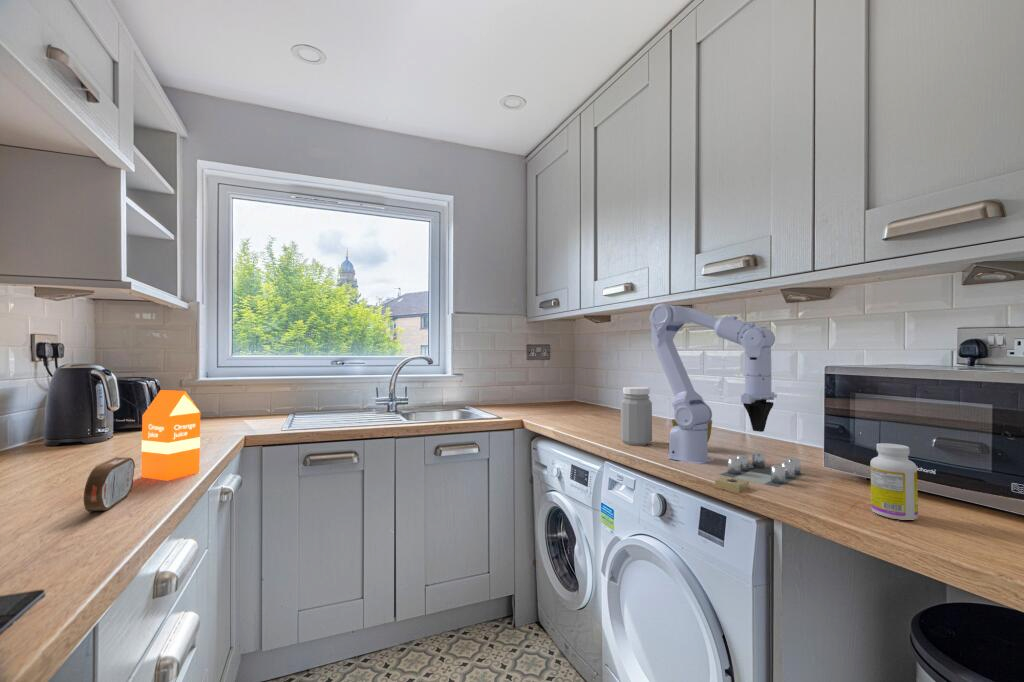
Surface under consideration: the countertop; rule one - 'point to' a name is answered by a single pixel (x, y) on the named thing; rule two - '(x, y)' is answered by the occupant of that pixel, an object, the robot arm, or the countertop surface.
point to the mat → (759, 476)
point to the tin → (108, 484)
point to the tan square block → (731, 484)
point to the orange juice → (170, 437)
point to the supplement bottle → (894, 482)
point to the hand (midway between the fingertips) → (758, 431)
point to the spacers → (777, 472)
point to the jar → (636, 416)
